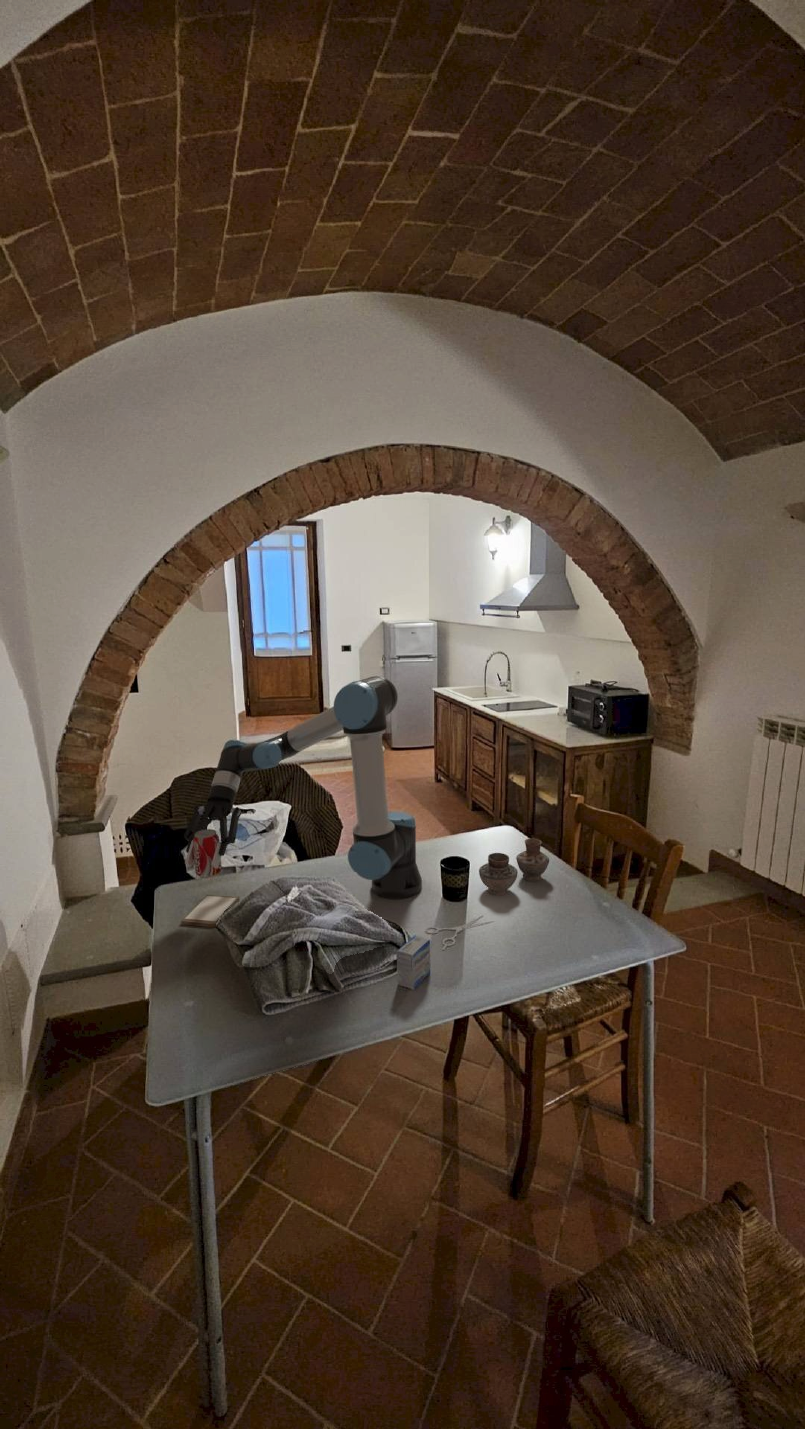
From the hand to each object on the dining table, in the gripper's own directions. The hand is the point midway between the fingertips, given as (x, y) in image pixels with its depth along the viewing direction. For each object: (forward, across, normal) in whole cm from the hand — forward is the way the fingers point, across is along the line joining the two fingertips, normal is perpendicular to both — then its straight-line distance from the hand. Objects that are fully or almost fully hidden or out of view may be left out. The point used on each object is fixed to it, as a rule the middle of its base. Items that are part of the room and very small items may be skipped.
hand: (201, 865), depth 169 cm
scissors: (+8, -70, -15) cm, 72 cm away
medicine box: (+24, -61, +2) cm, 66 cm away
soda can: (+1, 0, -6) cm, 6 cm away
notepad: (+9, 0, -13) cm, 16 cm away
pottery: (-12, -84, -34) cm, 91 cm away
